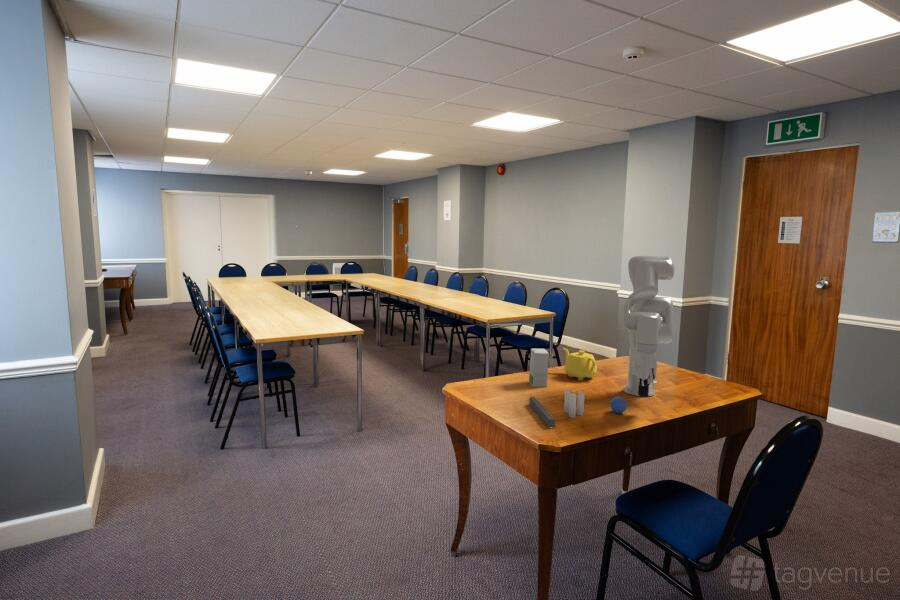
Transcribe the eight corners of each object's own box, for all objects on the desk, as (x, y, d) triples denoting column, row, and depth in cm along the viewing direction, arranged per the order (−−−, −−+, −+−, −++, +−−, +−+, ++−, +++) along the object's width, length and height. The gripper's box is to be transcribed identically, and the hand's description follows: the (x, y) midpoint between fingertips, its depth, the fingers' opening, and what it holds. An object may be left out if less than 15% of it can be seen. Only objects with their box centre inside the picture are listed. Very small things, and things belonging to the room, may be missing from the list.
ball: (616, 408, 189) (617, 393, 189) (629, 413, 184) (630, 398, 184) (606, 411, 186) (607, 396, 186) (619, 416, 181) (620, 401, 180)
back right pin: (567, 410, 187) (568, 388, 186) (571, 412, 185) (572, 390, 184) (562, 411, 186) (563, 389, 185) (567, 413, 184) (568, 391, 183)
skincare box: (528, 381, 223) (530, 348, 221) (543, 381, 224) (544, 348, 222) (533, 387, 215) (534, 352, 213) (548, 387, 216) (549, 352, 214)
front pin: (579, 412, 185) (581, 390, 184) (584, 414, 183) (585, 392, 182) (575, 413, 184) (576, 391, 183) (580, 415, 182) (581, 393, 181)
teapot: (584, 384, 221) (585, 356, 219) (552, 373, 237) (553, 347, 236) (604, 379, 228) (606, 352, 226) (572, 369, 245) (573, 344, 243)
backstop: (534, 404, 194) (534, 396, 193) (554, 427, 170) (554, 419, 170) (529, 404, 193) (529, 396, 193) (548, 428, 170) (549, 419, 169)
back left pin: (572, 415, 182) (573, 393, 181) (576, 417, 180) (577, 394, 179) (567, 416, 181) (568, 394, 180) (572, 418, 179) (573, 395, 178)
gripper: (627, 343, 190) (624, 390, 192) (647, 351, 175) (643, 401, 177) (645, 343, 191) (642, 390, 193) (666, 351, 176) (663, 401, 178)
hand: (643, 395), depth 185 cm, fingers closed
